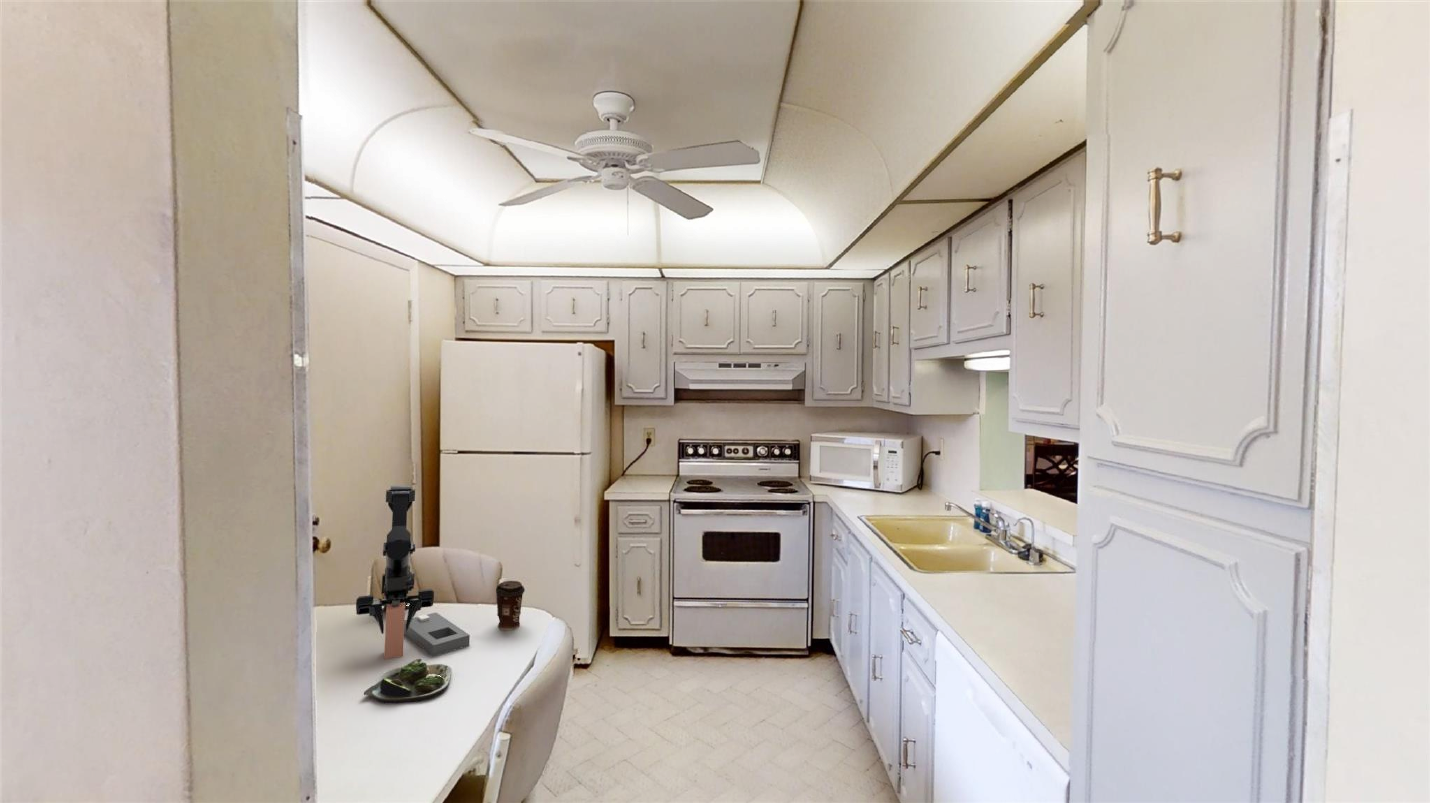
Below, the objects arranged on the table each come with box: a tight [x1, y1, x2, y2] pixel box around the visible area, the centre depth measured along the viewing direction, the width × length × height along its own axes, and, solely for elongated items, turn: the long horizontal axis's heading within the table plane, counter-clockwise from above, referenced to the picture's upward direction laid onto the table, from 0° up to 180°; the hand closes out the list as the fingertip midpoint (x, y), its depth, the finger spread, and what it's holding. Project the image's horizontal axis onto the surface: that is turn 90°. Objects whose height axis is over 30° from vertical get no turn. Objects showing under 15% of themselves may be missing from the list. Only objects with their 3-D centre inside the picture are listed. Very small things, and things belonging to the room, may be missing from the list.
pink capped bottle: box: [383, 599, 406, 659], centre depth 158 cm, size 4×4×14 cm
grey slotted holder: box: [404, 612, 471, 657], centre depth 169 cm, size 22×10×4 cm, turn 48°
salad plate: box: [363, 658, 453, 704], centre depth 144 cm, size 19×18×5 cm
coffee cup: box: [495, 580, 526, 631], centre depth 180 cm, size 9×8×13 cm
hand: (394, 631), depth 157 cm, fingers open, 5 cm apart
